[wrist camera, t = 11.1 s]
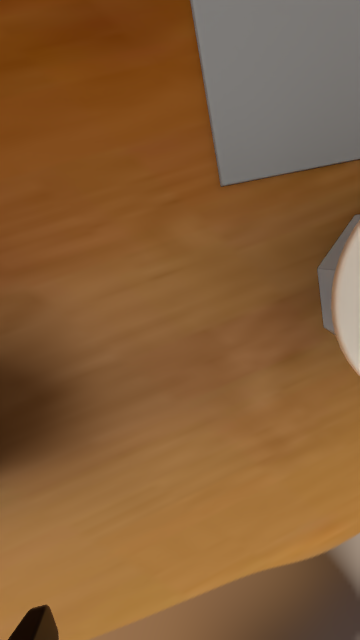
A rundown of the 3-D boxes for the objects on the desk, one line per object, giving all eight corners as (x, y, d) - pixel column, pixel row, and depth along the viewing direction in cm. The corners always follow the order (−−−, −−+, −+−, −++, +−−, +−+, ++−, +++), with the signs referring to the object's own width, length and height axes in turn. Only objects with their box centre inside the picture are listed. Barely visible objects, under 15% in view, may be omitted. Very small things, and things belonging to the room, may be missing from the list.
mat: (221, 186, 19) (222, 185, 19) (165, -151, 16) (166, -161, 15) (469, 137, 20) (476, 135, 20) (465, -192, 17) (473, -202, 16)
